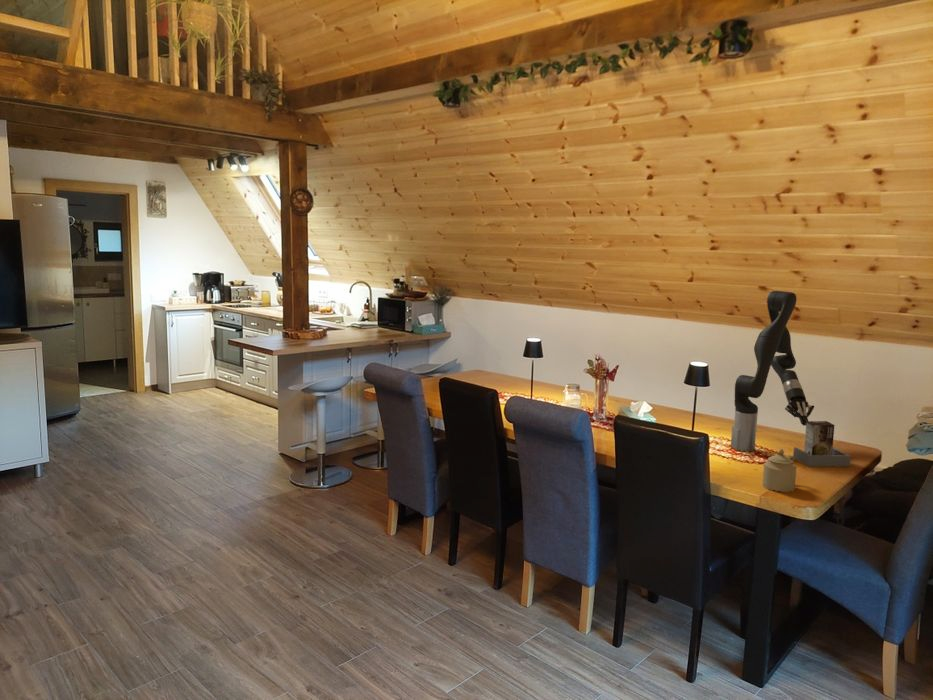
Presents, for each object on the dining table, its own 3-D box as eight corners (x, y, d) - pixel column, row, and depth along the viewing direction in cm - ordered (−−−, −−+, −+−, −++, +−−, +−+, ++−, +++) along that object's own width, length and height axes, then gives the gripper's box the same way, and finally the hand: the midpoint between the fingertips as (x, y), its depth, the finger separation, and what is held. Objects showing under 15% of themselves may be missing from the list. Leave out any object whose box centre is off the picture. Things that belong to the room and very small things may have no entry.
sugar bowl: (760, 477, 259) (763, 440, 257) (791, 481, 256) (795, 443, 253) (763, 490, 246) (766, 451, 243) (796, 494, 242) (799, 454, 240)
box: (808, 466, 274) (809, 456, 273) (793, 457, 286) (793, 447, 285) (849, 466, 274) (851, 456, 274) (832, 457, 287) (833, 447, 286)
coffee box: (823, 457, 287) (826, 420, 285) (831, 461, 281) (835, 424, 278) (802, 457, 287) (805, 420, 284) (810, 461, 280) (814, 424, 278)
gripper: (782, 386, 299) (794, 420, 289) (811, 387, 299) (824, 420, 289) (776, 395, 305) (787, 428, 295) (804, 396, 305) (816, 429, 295)
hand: (805, 424), depth 292 cm, fingers closed
